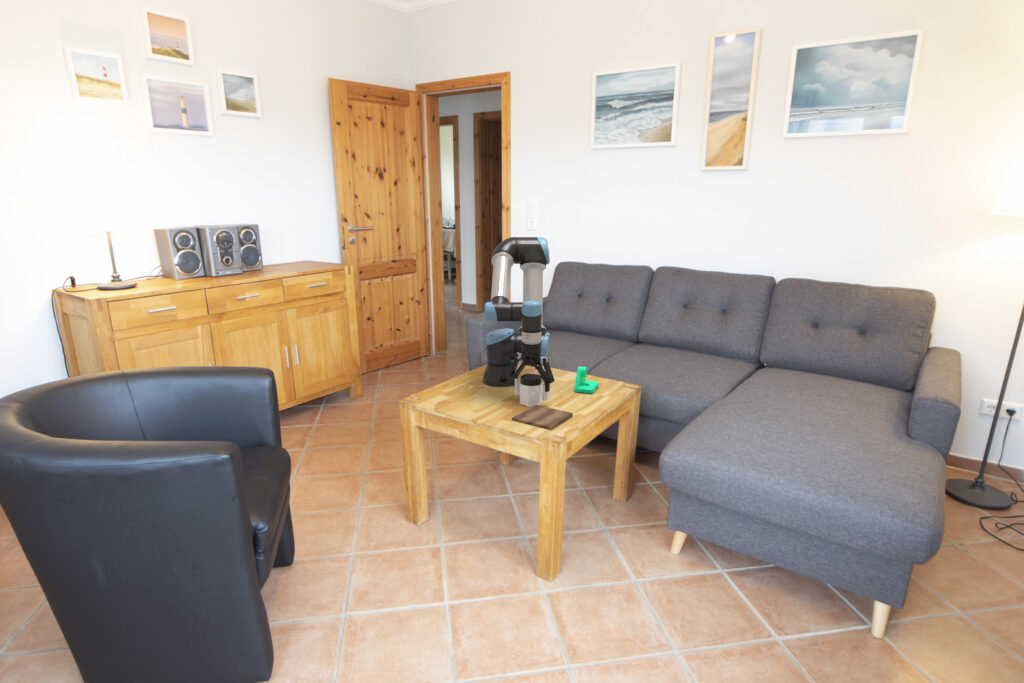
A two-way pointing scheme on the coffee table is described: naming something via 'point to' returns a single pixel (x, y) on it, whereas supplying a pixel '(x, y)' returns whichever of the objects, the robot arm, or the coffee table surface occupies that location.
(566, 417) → the plinth
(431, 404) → the coffee table surface
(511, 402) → the coffee table surface
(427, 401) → the coffee table surface
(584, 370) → the camera mount
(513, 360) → the robot arm
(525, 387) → the jar
